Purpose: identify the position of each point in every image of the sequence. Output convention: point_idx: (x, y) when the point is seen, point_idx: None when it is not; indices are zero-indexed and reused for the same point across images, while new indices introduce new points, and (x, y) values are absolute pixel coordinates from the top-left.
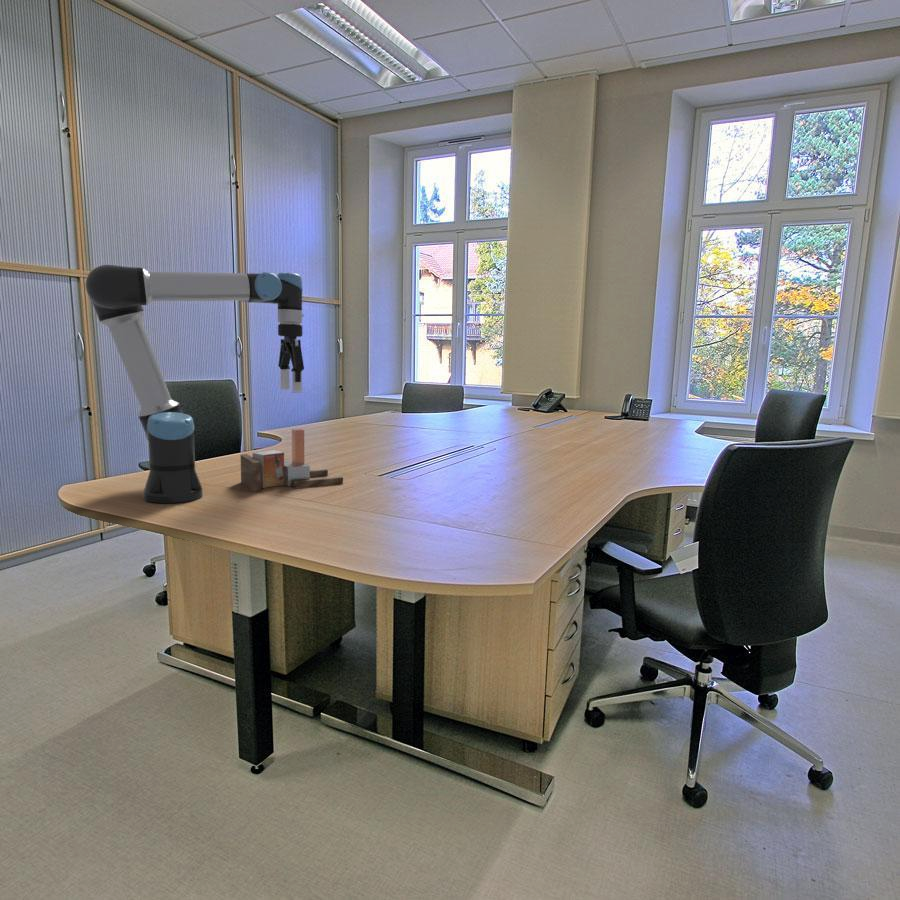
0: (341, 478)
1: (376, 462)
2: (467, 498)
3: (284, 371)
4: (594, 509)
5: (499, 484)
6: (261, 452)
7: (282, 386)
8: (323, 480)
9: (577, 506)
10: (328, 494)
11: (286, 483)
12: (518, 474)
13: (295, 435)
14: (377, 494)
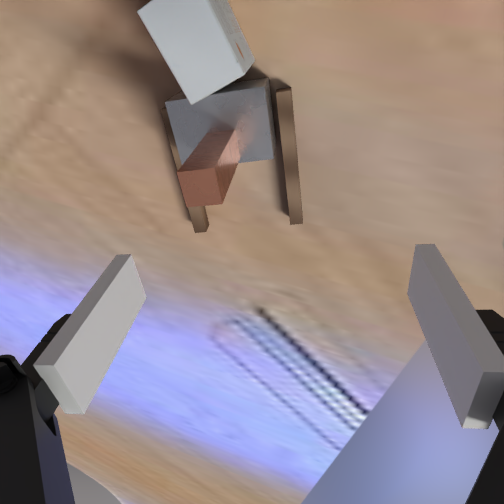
0: (194, 228)
1: (398, 347)
2: None
3: (464, 378)
4: None
5: (154, 417)
6: (195, 12)
7: (420, 264)
8: None
9: None
10: (97, 169)
11: None
12: (214, 457)
13: (182, 166)
14: (95, 255)
